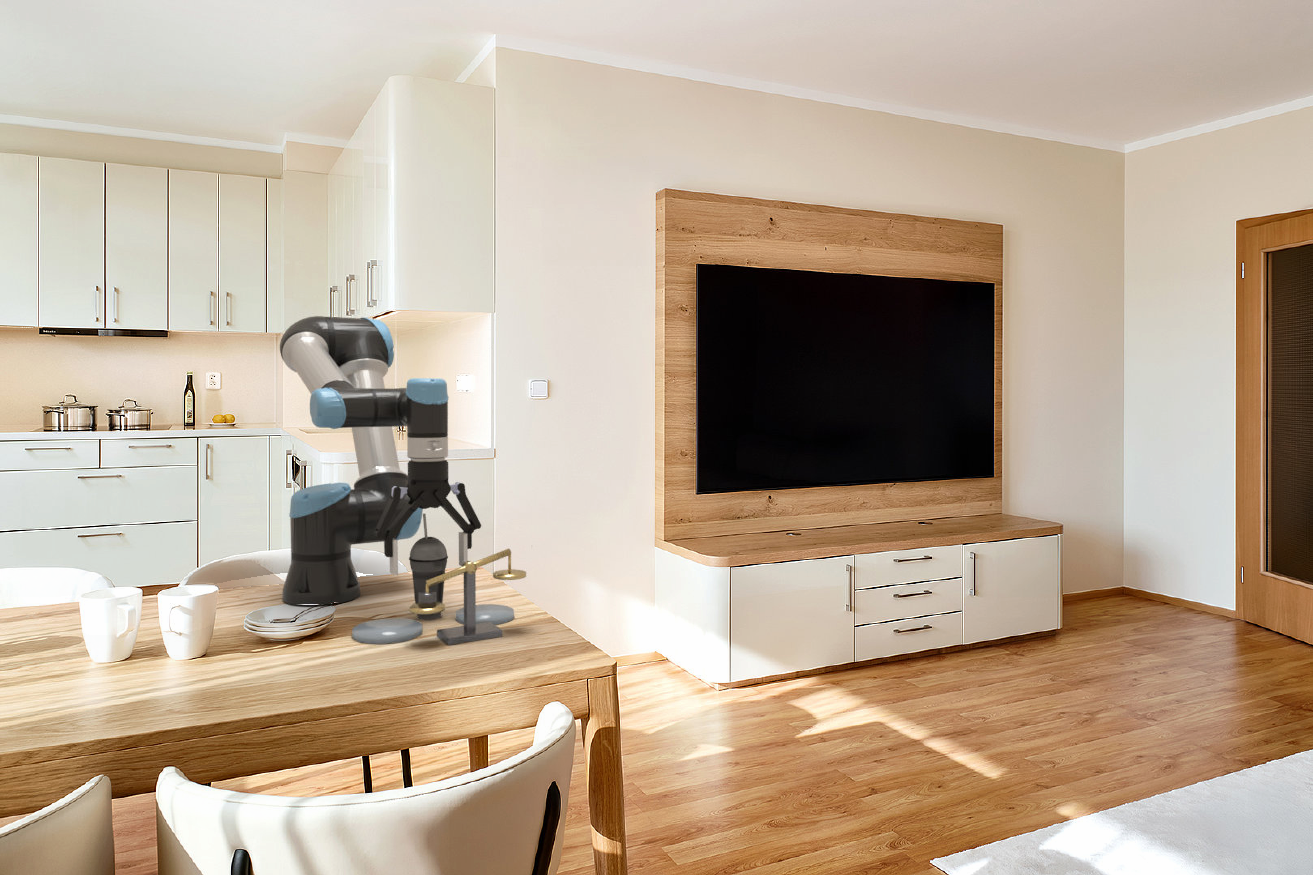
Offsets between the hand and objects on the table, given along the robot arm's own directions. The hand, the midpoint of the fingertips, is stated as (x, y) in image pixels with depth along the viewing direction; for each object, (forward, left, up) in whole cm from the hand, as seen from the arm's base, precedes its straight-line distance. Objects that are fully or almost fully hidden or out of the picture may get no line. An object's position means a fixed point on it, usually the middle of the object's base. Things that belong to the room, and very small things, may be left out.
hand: (429, 570), depth 169 cm
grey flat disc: (+7, -10, -9) cm, 15 cm away
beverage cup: (0, 0, -9) cm, 9 cm away
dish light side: (+6, +9, -9) cm, 14 cm away
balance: (+16, +2, -9) cm, 18 cm away
